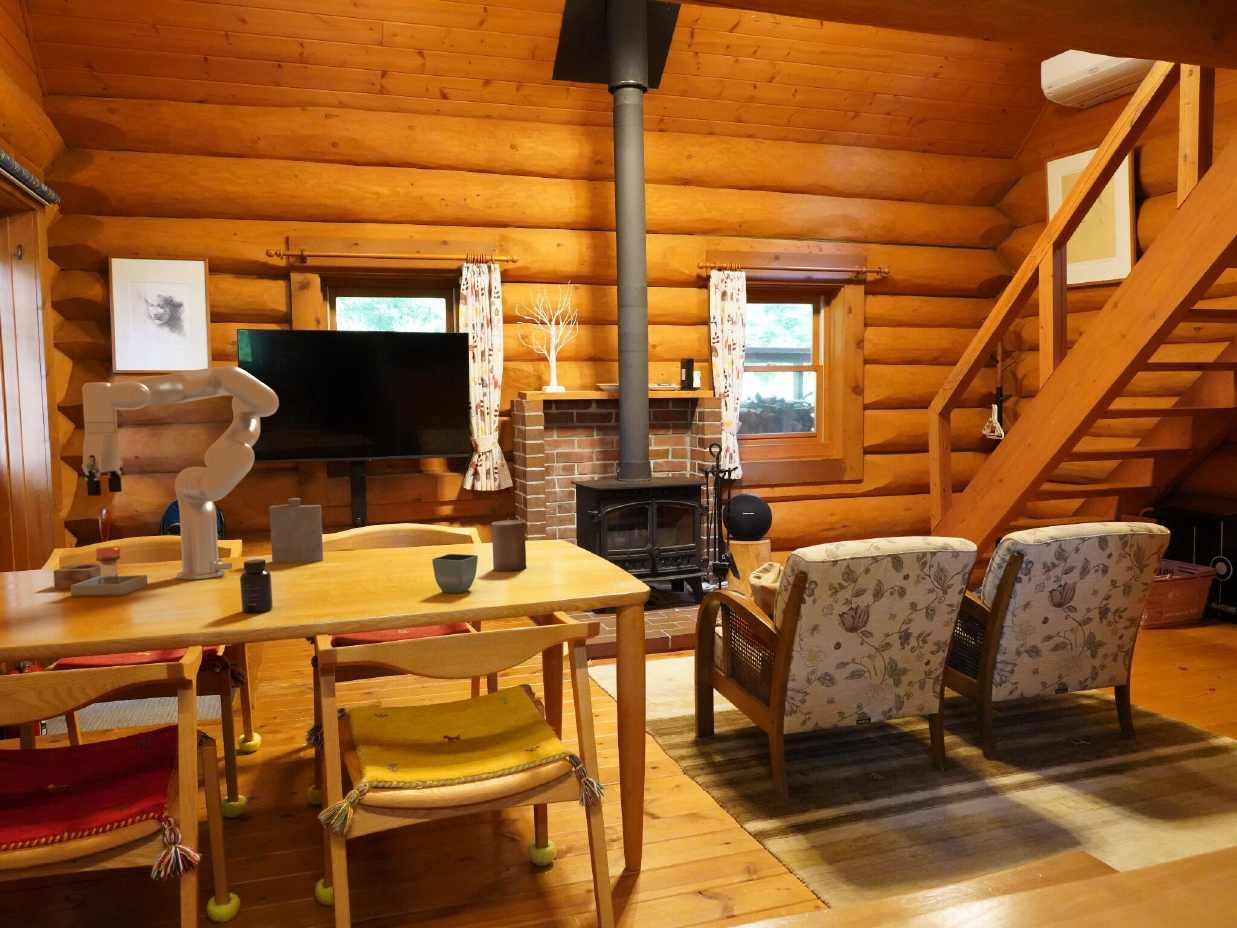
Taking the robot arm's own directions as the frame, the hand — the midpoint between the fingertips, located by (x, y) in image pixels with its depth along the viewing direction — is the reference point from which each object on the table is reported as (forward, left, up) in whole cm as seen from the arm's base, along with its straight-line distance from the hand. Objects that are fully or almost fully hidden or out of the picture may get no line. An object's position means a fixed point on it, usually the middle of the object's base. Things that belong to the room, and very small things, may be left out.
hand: (105, 493), depth 238 cm
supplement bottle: (-50, +27, -26) cm, 63 cm away
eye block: (+13, -10, -26) cm, 31 cm away
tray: (0, 0, -26) cm, 26 cm away
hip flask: (-35, -42, -26) cm, 61 cm away
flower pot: (-94, +9, -26) cm, 98 cm away
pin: (0, 0, -26) cm, 26 cm away
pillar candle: (-104, -22, -26) cm, 110 cm away
